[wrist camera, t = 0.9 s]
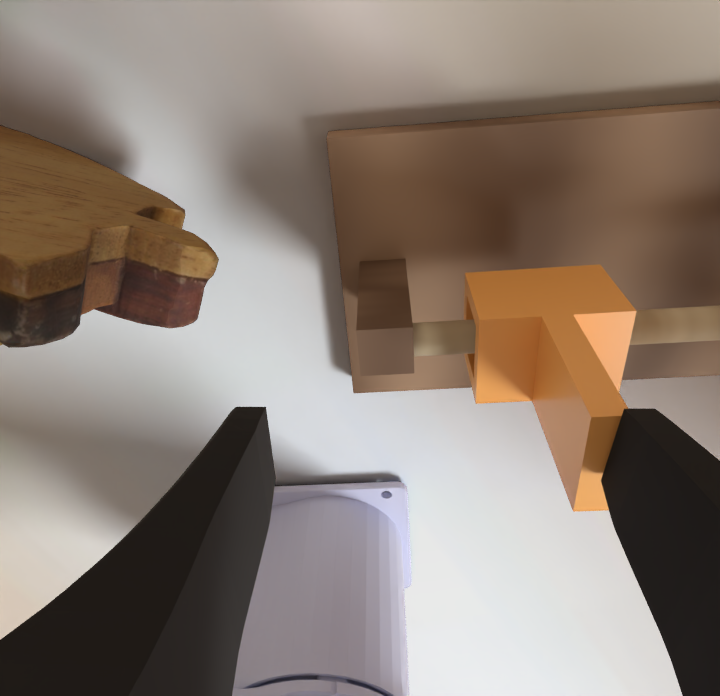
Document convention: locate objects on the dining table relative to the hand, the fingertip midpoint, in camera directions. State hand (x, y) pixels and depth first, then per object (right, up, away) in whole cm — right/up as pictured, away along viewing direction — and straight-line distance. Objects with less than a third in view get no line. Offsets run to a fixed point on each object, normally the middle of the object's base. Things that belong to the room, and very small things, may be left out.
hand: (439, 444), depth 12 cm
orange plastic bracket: (+4, +3, +6) cm, 8 cm away
